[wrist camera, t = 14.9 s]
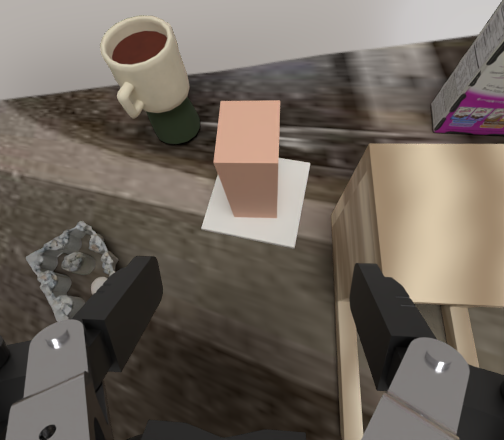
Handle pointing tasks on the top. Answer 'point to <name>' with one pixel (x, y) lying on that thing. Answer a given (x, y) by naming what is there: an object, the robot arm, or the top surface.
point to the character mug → (151, 76)
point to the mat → (263, 229)
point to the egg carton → (69, 268)
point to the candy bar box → (475, 86)
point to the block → (249, 156)
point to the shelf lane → (419, 242)
